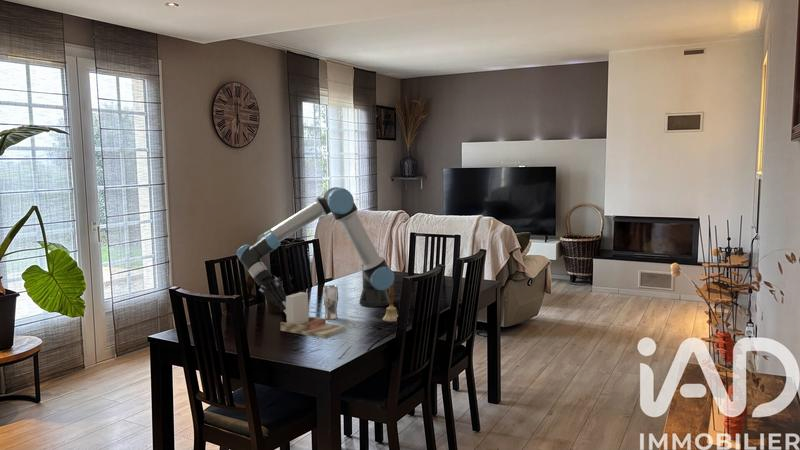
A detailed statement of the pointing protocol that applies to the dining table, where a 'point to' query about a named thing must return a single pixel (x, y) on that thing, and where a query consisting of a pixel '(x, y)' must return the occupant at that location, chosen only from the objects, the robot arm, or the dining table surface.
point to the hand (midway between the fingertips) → (290, 314)
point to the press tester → (312, 328)
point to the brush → (391, 308)
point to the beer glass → (330, 301)
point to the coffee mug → (272, 307)
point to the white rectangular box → (297, 308)
